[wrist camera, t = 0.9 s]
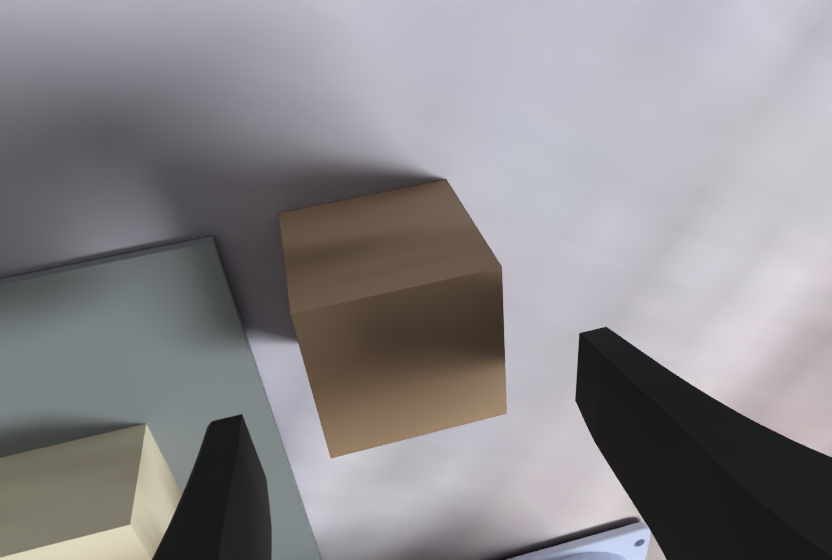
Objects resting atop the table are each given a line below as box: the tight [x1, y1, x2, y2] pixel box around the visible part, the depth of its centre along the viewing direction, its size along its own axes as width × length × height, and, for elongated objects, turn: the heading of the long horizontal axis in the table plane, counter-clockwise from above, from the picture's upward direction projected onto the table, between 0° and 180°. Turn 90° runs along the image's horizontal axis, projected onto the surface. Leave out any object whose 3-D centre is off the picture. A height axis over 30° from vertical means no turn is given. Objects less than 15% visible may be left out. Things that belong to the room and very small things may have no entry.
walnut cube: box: [279, 179, 507, 458], centre depth 16 cm, size 4×4×4 cm
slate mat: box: [0, 236, 322, 560], centre depth 21 cm, size 18×14×1 cm
